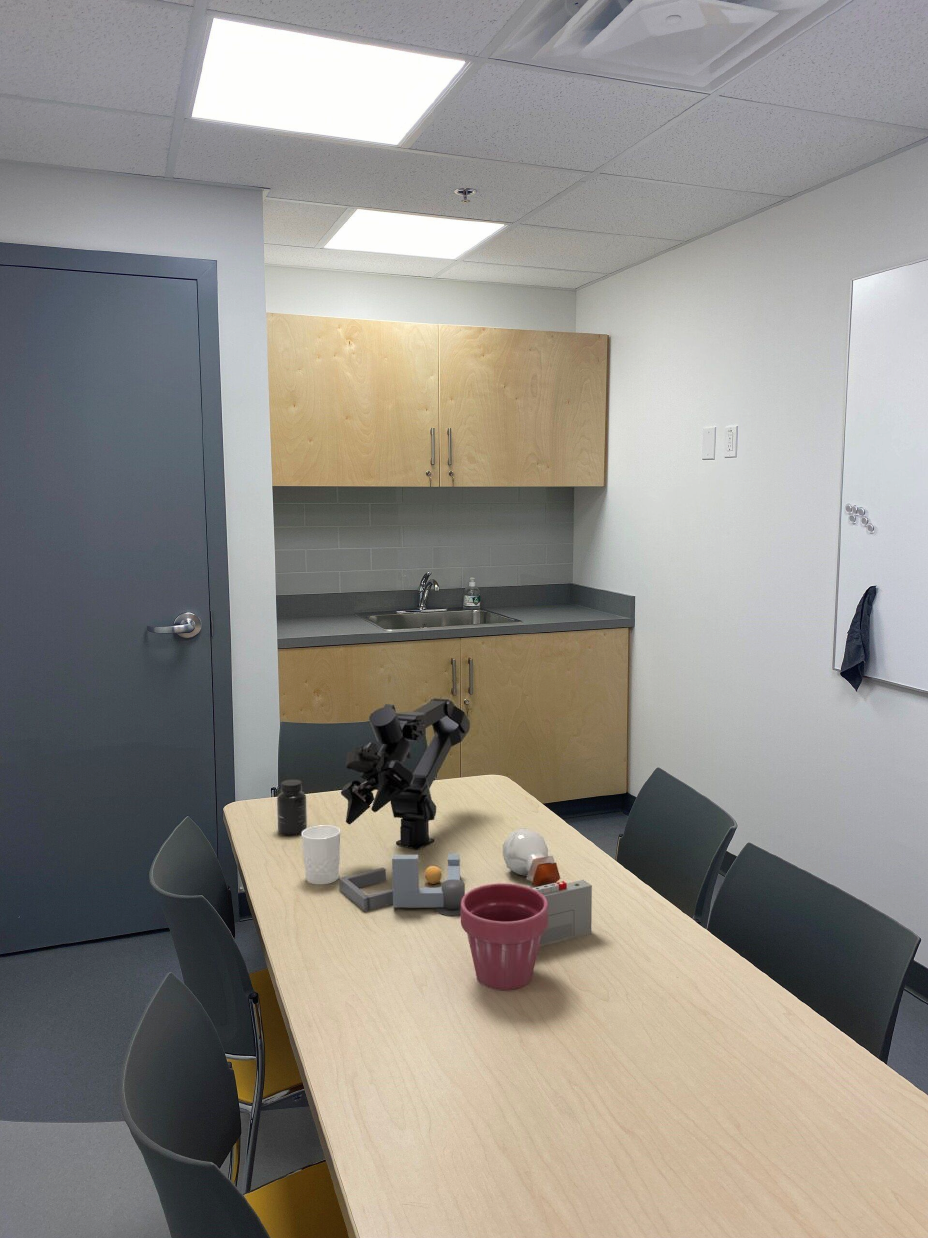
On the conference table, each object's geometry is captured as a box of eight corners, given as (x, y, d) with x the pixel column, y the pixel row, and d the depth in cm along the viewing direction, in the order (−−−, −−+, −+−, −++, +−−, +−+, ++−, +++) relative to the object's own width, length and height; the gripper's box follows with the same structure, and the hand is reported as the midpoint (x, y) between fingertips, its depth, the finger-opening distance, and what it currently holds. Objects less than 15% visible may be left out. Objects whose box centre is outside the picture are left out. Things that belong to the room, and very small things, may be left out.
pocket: (383, 879, 183) (383, 867, 183) (409, 899, 173) (409, 887, 173) (339, 890, 178) (339, 878, 177) (364, 911, 168) (364, 899, 168)
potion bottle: (519, 869, 191) (550, 905, 177) (486, 850, 187) (516, 885, 173) (543, 833, 191) (577, 866, 178) (511, 813, 187) (543, 846, 174)
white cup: (345, 871, 187) (344, 825, 186) (336, 887, 179) (335, 839, 178) (308, 870, 188) (307, 824, 187) (298, 885, 180) (296, 838, 179)
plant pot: (542, 1004, 136) (542, 924, 134) (452, 995, 139) (451, 917, 137) (552, 958, 150) (552, 886, 148) (470, 951, 153) (469, 879, 151)
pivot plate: (435, 900, 173) (435, 898, 173) (471, 899, 173) (471, 898, 173) (434, 916, 166) (434, 915, 166) (471, 916, 166) (471, 914, 166)
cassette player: (582, 927, 161) (583, 874, 160) (591, 933, 159) (591, 880, 158) (507, 946, 154) (507, 891, 153) (515, 953, 152) (514, 897, 151)
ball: (431, 878, 183) (431, 862, 183) (445, 882, 181) (445, 865, 181) (421, 884, 180) (420, 867, 180) (434, 888, 178) (434, 871, 178)
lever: (398, 873, 184) (398, 829, 183) (464, 872, 184) (464, 828, 183) (392, 910, 167) (391, 861, 166) (464, 909, 167) (464, 860, 166)
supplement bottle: (272, 835, 209) (270, 785, 207) (286, 825, 215) (284, 777, 214) (299, 838, 207) (297, 787, 205) (312, 828, 213) (310, 779, 212)
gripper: (338, 749, 193) (306, 805, 182) (387, 721, 181) (356, 779, 170) (375, 781, 196) (346, 838, 185) (426, 754, 184) (398, 814, 173)
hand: (360, 817), depth 178 cm, fingers open, 9 cm apart
